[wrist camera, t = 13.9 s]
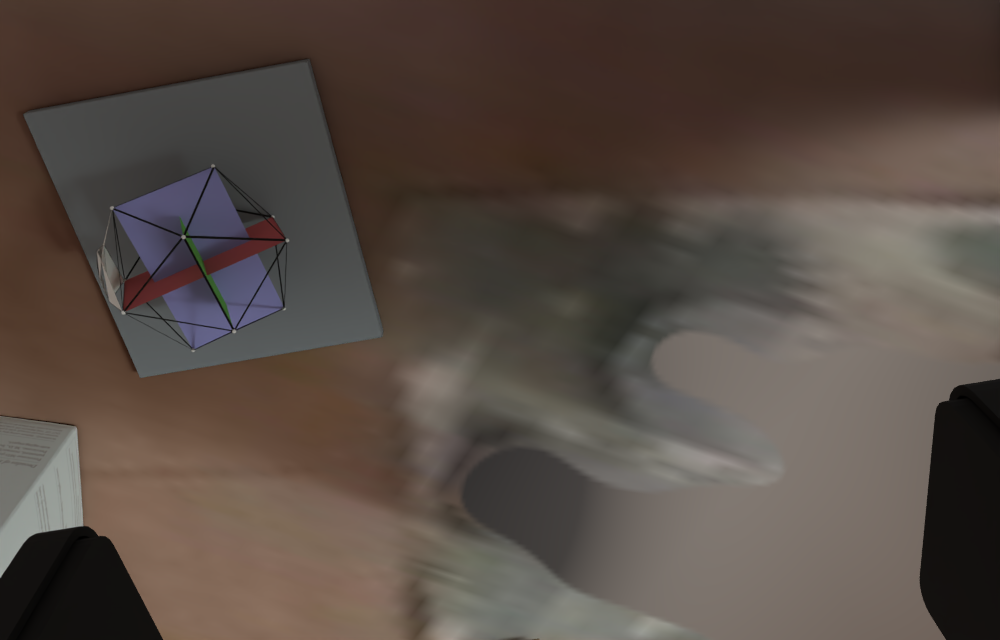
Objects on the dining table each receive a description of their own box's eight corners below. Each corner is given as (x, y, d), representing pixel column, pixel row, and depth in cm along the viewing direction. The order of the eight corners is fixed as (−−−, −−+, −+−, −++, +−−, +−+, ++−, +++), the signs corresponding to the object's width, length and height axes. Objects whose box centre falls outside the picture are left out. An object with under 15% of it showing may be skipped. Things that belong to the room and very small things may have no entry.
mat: (309, 58, 34) (307, 61, 34) (383, 331, 40) (382, 336, 40) (29, 110, 35) (22, 114, 34) (144, 371, 41) (140, 377, 40)
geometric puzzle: (292, 136, 33) (123, 232, 28) (358, 285, 36) (216, 396, 31) (192, 149, 37) (30, 234, 32) (258, 280, 40) (120, 377, 35)
